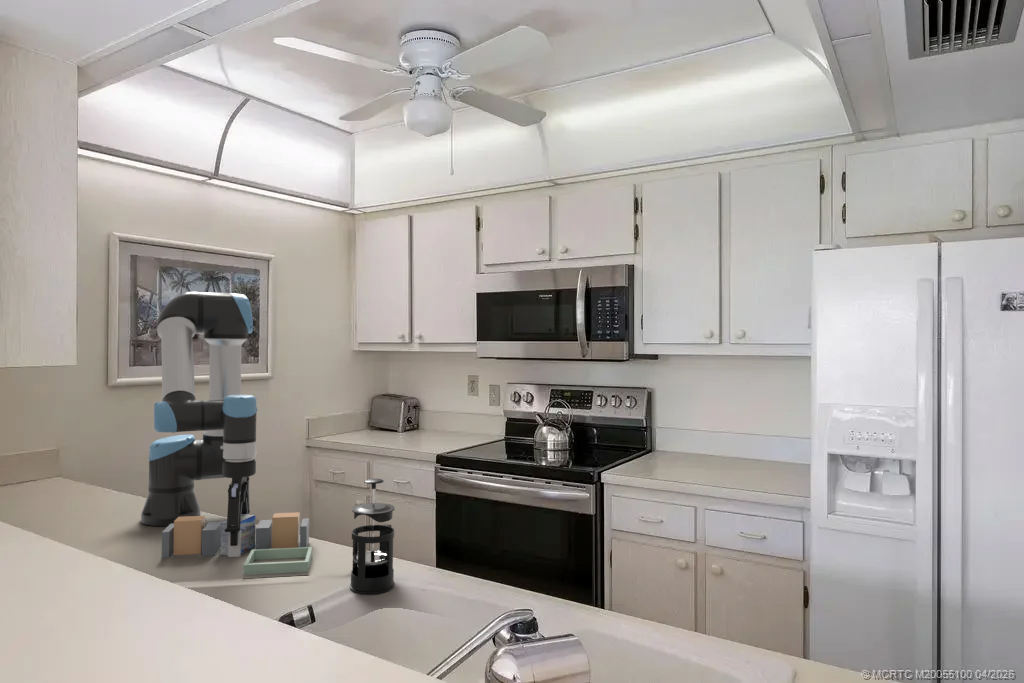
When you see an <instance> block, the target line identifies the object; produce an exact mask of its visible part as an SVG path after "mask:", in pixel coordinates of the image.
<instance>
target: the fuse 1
mask: <svg viewBox="0 0 1024 683" xmlns="http://www.w3.org/2000/svg"><path fill="white" fill-rule="evenodd" d="M205 526H206V515H200V516H185V517H178V518H177V519H176V520H175V521H174V555H188V554H201V553H202V530H203V529H204V527H205Z"/></svg>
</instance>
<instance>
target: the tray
mask: <svg viewBox="0 0 1024 683" xmlns="http://www.w3.org/2000/svg"><path fill="white" fill-rule="evenodd" d="M295 558H297V559H298V558H305V559H304V560H296V561H295V560H294V561H293V560H292V561H274V562H272V561H271V562H255V560H256V561H257V560H275V559H276V560H277V559H295ZM312 558H313V546H308V547H296V548H275V549H256V548H255V549H254V548H253V549H251V550H250V553H249V554H248V556H247V557H246V560H245V561H244V563H243V568H242V569H243V573H242V574H243V575H244V576H248V575H264V574H268V575H269V574H282V573H283V574H284V573H303V572H309V570H310V566H311V562H312ZM306 576H307V577H308V576H309V574H306V575H305V574H303V575H302V574H301V575H296V577H306ZM289 577H290V578H291V577H293V575H283V576H277V578H289ZM270 578H272V579H273V578H275V576H264V577H263V576H262V577H259V579H270ZM251 579H257V577H245V578H243V579H242V580H251Z"/></svg>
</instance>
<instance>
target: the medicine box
mask: <svg viewBox="0 0 1024 683" xmlns="http://www.w3.org/2000/svg"><path fill="white" fill-rule="evenodd" d="M250 514H251V513H249V514H241V523H240V530H241V554H243V553H245V552H247V551H249V550H250V549H252V548H254V547H256V524H257V523H256V520H257V519H256V517H257V516H256V515H255V514H252V515H250ZM221 522H222V523H221V548H220V555H224V556H225V555H226V556H228V532H225V529H226V528H227V519H226V520H225V521H224V520H223V521H221ZM232 526H235V525H232Z"/></svg>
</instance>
